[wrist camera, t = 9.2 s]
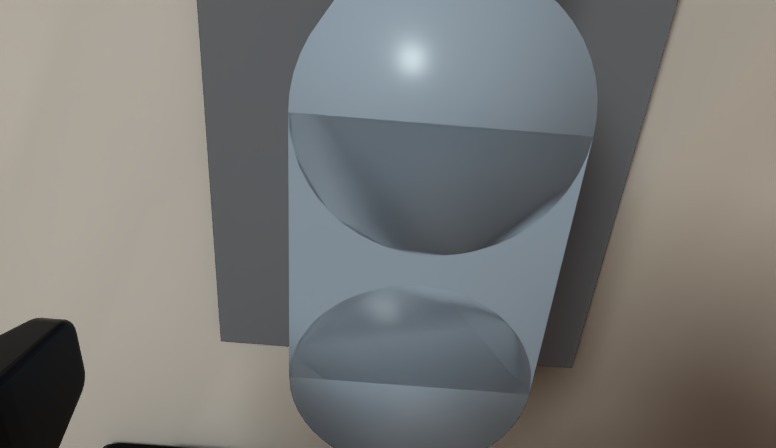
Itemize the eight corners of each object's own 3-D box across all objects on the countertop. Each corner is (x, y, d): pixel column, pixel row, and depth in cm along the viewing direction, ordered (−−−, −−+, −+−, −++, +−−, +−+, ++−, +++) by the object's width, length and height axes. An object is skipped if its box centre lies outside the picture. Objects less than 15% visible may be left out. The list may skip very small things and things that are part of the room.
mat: (568, 358, 18) (571, 367, 17) (224, 332, 17) (221, 341, 17) (701, -113, 12) (710, -114, 11) (192, -157, 12) (185, -160, 11)
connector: (481, 322, 16) (509, 476, 12) (320, 310, 16) (289, 460, 12) (573, -180, 11) (685, -233, 7) (333, -201, 11) (286, -268, 7)
